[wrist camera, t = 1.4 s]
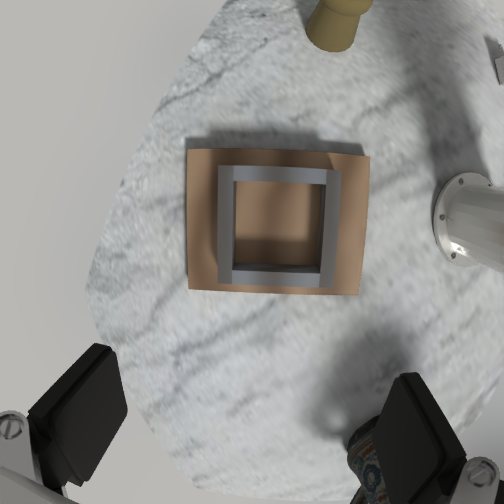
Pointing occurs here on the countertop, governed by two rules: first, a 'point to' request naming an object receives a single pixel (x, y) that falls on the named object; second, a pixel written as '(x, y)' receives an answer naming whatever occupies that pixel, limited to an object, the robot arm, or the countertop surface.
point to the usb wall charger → (500, 66)
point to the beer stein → (366, 466)
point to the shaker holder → (276, 220)
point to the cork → (335, 23)
